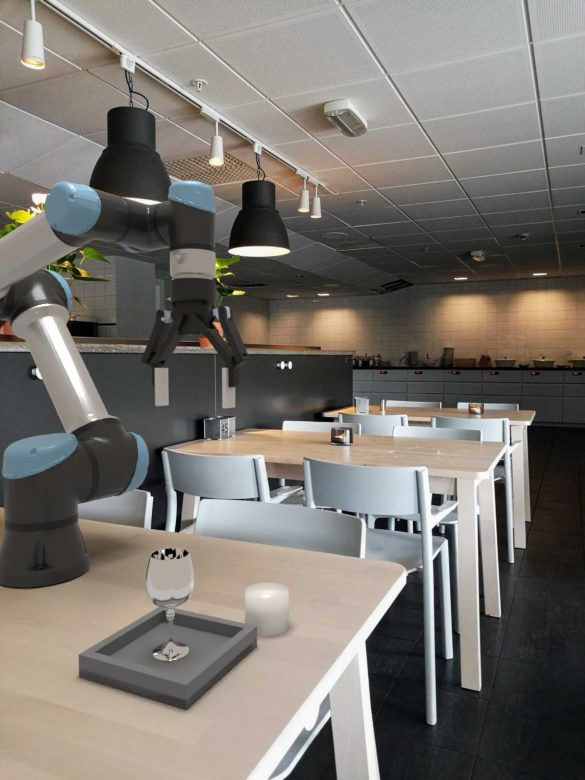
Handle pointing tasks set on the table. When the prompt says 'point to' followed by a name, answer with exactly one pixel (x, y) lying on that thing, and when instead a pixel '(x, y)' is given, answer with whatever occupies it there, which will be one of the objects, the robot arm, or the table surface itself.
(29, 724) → the table surface
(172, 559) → the wineglass
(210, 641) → the tray
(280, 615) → the white pillar candle
